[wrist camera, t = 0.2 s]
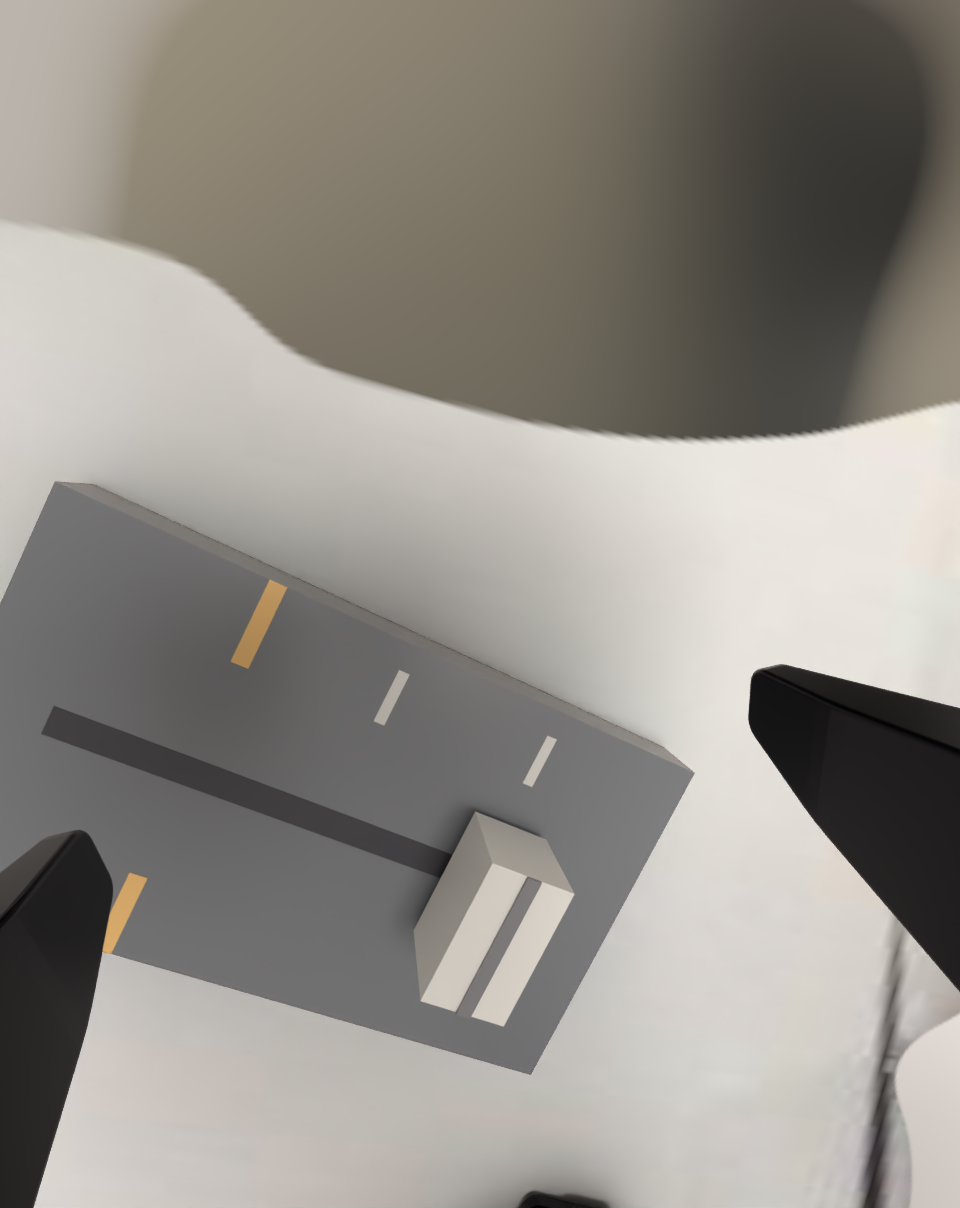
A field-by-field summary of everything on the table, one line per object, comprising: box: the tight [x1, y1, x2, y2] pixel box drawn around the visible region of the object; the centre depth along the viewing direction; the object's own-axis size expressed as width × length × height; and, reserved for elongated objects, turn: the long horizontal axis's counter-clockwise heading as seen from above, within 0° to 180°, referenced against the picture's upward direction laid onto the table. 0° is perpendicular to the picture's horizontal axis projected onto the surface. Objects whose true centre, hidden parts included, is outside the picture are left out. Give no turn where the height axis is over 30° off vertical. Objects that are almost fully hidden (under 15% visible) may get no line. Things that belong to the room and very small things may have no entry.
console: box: [0, 481, 694, 1075], centre depth 22 cm, size 14×24×2 cm, turn 64°
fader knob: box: [414, 812, 574, 1027], centre depth 20 cm, size 5×3×3 cm, turn 154°
